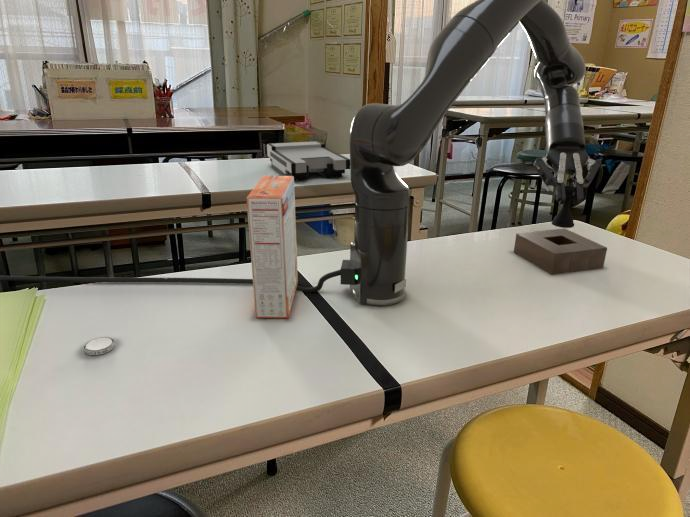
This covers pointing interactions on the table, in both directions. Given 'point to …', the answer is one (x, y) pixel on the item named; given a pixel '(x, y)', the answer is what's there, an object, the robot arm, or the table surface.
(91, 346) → the silver round flat disc
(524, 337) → the table surface
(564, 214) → the chess piece
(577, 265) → the pad block
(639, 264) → the table surface
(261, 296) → the cracker box
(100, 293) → the table surface
